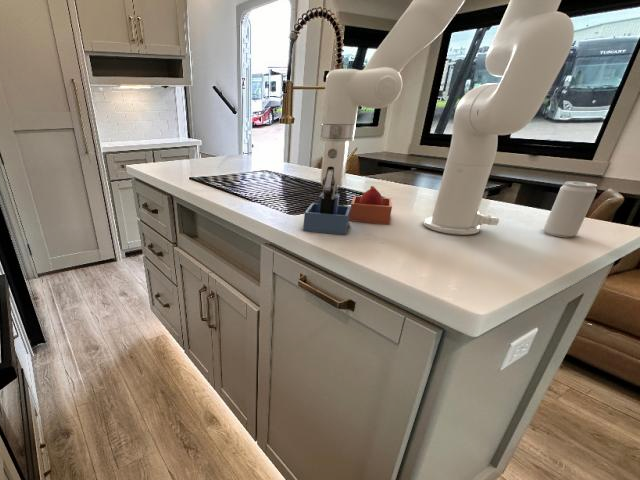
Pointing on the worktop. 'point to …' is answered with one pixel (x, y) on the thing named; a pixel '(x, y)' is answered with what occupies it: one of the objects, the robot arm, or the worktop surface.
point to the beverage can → (570, 208)
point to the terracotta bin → (370, 211)
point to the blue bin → (326, 220)
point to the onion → (371, 197)
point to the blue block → (334, 204)
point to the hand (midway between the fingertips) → (327, 211)
